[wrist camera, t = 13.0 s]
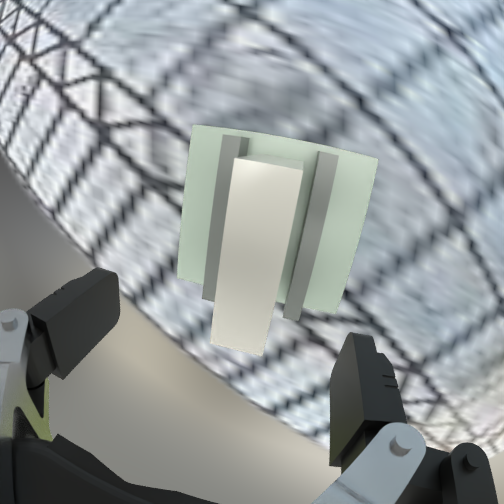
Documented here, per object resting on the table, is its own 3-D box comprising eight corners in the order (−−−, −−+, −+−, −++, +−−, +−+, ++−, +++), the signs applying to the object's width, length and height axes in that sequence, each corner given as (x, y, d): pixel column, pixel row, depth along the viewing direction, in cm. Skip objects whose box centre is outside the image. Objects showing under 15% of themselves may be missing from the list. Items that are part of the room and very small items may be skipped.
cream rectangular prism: (303, 161, 21) (303, 170, 12) (277, 285, 24) (262, 356, 16) (262, 153, 21) (234, 158, 13) (241, 277, 24) (209, 343, 16)
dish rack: (374, 158, 21) (389, 161, 17) (334, 305, 26) (338, 334, 21) (199, 125, 22) (177, 122, 18) (183, 271, 27) (162, 293, 23)
